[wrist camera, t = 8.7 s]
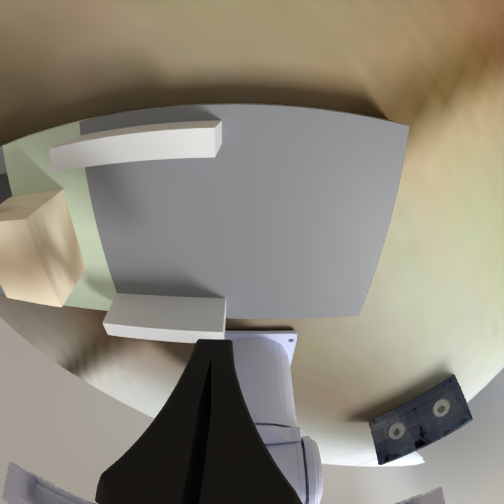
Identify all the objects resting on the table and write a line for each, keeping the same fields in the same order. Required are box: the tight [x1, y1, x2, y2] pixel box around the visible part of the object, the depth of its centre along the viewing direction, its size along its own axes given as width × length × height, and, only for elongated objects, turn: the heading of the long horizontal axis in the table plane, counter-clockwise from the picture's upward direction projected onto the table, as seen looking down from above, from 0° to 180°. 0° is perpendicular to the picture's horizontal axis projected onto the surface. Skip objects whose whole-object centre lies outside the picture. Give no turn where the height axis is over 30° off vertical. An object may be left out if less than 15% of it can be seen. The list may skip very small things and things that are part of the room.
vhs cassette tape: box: [369, 375, 473, 465], centre depth 33 cm, size 18×3×10 cm, turn 130°
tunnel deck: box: [0, 103, 409, 343], centre depth 15 cm, size 14×36×6 cm, turn 88°
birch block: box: [0, 189, 87, 307], centre depth 13 cm, size 6×6×4 cm
